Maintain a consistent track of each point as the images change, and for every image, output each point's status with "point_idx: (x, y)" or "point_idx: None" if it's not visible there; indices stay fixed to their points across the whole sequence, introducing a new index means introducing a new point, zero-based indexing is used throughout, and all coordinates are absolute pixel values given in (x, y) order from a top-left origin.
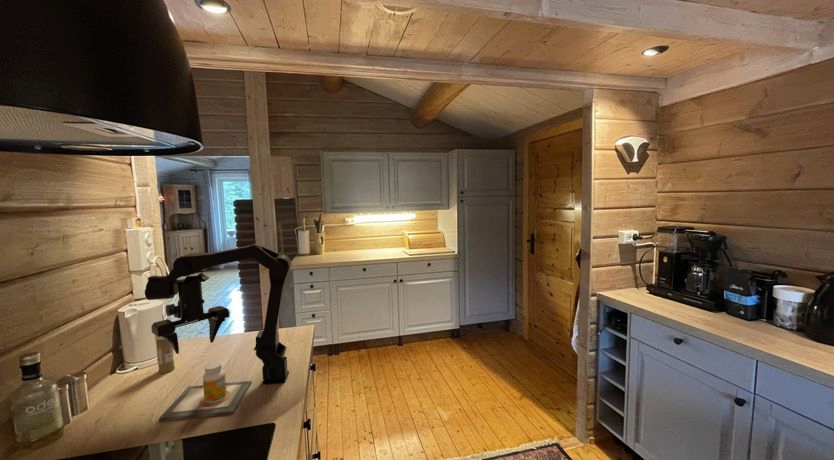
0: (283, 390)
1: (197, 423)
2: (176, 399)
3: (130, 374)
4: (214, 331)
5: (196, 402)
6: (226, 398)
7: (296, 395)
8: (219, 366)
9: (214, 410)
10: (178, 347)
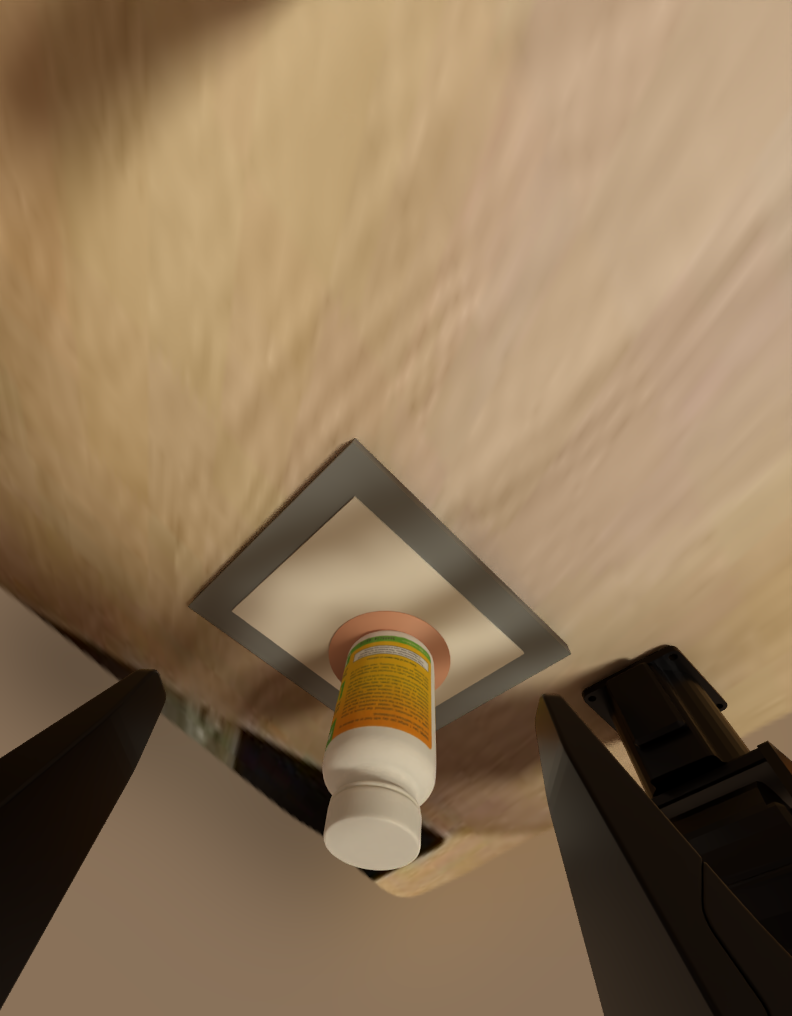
0: None
1: (295, 703)
2: (270, 526)
3: None
4: (607, 995)
5: (325, 625)
6: None
7: None
8: (392, 866)
9: None
10: (106, 815)
